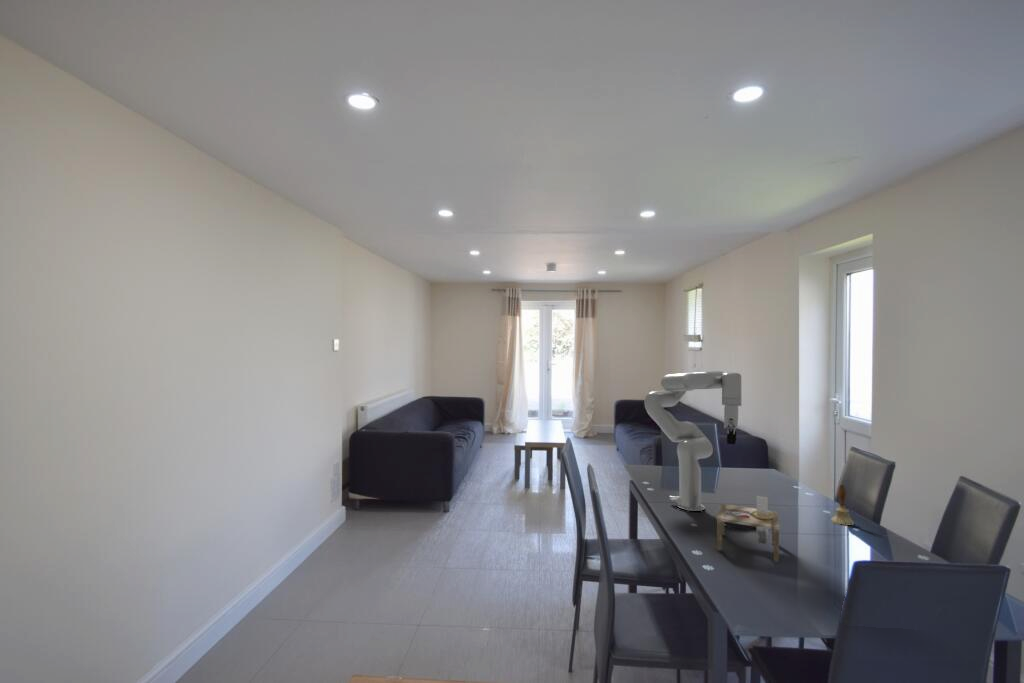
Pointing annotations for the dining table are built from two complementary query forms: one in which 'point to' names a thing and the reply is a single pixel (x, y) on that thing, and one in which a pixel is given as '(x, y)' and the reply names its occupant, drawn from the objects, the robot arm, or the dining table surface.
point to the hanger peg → (762, 514)
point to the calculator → (738, 526)
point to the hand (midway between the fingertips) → (731, 441)
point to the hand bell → (842, 510)
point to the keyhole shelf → (747, 521)
